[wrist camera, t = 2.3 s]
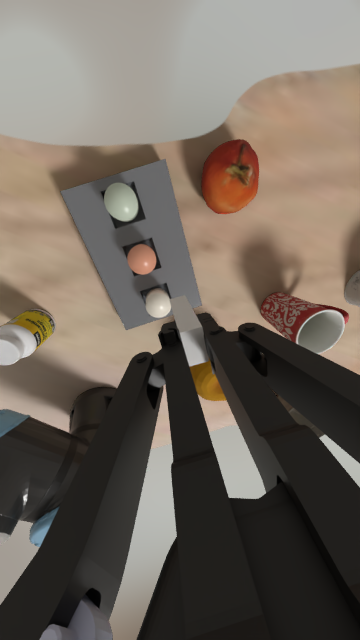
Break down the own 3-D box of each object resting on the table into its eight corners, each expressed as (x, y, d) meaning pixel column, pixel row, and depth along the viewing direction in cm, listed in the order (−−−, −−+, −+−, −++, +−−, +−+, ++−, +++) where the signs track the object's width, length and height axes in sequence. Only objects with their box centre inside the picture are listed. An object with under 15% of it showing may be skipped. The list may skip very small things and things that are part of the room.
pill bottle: (63, 329, 39) (34, 361, 29) (35, 340, 39) (-3, 375, 29) (44, 302, 37) (5, 328, 27) (14, 314, 37) (-36, 344, 27)
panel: (127, 322, 41) (125, 330, 38) (69, 195, 31) (60, 191, 27) (197, 300, 41) (202, 305, 38) (163, 166, 31) (165, 158, 28)
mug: (256, 328, 47) (294, 360, 34) (256, 292, 43) (299, 316, 31) (304, 317, 47) (357, 345, 35) (308, 281, 44) (370, 299, 31)
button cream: (150, 312, 37) (150, 321, 34) (142, 292, 35) (141, 298, 32) (171, 305, 37) (174, 313, 34) (164, 284, 36) (166, 290, 32)
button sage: (116, 225, 30) (112, 224, 27) (104, 194, 29) (98, 188, 25) (142, 217, 31) (142, 214, 27) (132, 185, 29) (130, 178, 25)
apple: (210, 322, 44) (228, 348, 34) (242, 351, 49) (267, 383, 39) (171, 358, 46) (178, 393, 36) (206, 383, 51) (220, 420, 41)
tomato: (217, 227, 36) (234, 225, 29) (184, 183, 32) (195, 168, 25) (255, 188, 34) (284, 175, 27) (226, 137, 31) (250, 107, 23)
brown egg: (135, 273, 34) (133, 278, 30) (125, 248, 32) (122, 250, 28) (158, 266, 34) (159, 269, 30) (150, 240, 32) (150, 241, 28)
